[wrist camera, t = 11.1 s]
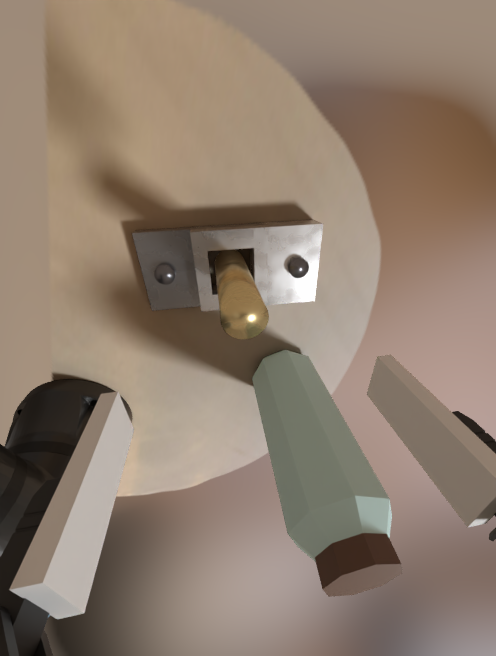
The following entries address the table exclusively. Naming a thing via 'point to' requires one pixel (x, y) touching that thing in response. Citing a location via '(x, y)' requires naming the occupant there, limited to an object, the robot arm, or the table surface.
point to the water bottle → (324, 478)
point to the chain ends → (262, 238)
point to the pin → (238, 297)
